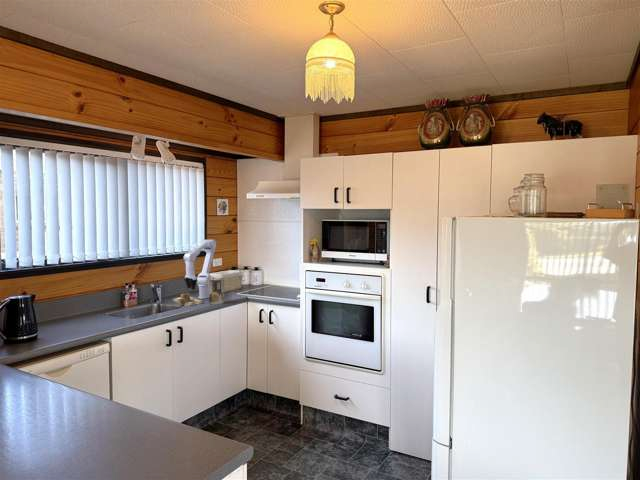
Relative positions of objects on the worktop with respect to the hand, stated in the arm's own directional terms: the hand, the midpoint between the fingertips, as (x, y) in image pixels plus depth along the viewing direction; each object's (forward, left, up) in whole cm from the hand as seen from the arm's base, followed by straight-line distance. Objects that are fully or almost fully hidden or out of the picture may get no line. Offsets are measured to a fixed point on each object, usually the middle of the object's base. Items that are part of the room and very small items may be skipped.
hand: (191, 288), depth 318 cm
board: (+3, 0, -9) cm, 10 cm away
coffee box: (-11, +18, -10) cm, 23 cm away
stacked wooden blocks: (+6, +6, -9) cm, 13 cm away
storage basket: (-39, -25, -10) cm, 47 cm away
